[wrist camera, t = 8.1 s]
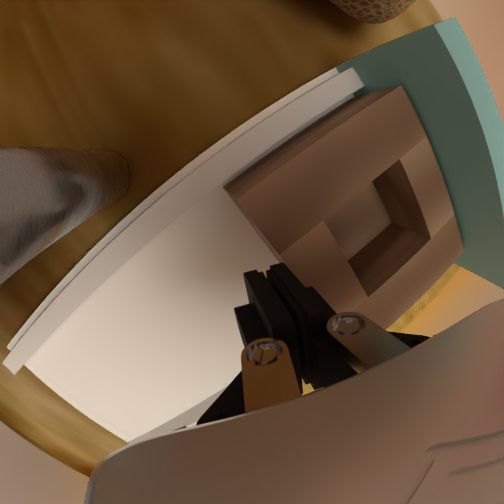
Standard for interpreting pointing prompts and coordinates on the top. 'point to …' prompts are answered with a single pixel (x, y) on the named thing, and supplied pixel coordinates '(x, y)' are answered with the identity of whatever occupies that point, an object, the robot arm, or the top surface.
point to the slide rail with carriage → (244, 244)
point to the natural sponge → (373, 9)
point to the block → (356, 206)
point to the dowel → (51, 196)
